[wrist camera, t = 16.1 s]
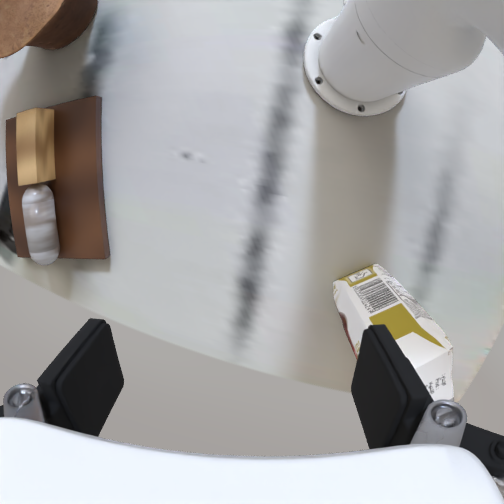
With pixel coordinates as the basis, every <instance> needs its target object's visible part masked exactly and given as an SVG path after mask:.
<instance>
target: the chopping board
mask: <svg viewBox="0 0 504 504" xmlns="http://www.w3.org/2000/svg"><path fill="white" fill-rule="evenodd" d="M101 102H102V97H99V96H92V97H88V98H83V99H79V100H74V101H70V102H66V103H62V104H58V105H54V106H50V107H47V108H45V109H54V158H55V177H56V179H54V180H49V181H45V182H40V183H41V184H45V185H46V186H48V187H49V188H50V189H51V191H52V193H53V197H54V205H55V214H56V222H57V230H58V237H59V243H60V252H59V255H58V257H57V258H74V259H106V258H107V257H109V256H110V251H109V243H108V234H107V225H106V215H105V204H104V191H103V175H102V149H101ZM16 119H17V117H14V118H11V119H8V120H6V166H7V182H8V194H9V203H10V212H11V219H12V226H13V233H14V239H15V245H16V250H17V255H18V257H28V258H31V256H30V253H29V248H28V243H27V237H26V230H25V223H24V216H23V208H22V198H23V195H24V193H25V191H26V190H27V188H28V187H30V186H31V185H33V184H29V185H22V186H18V172H17V149H16ZM35 184H36V183H35Z"/></svg>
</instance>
